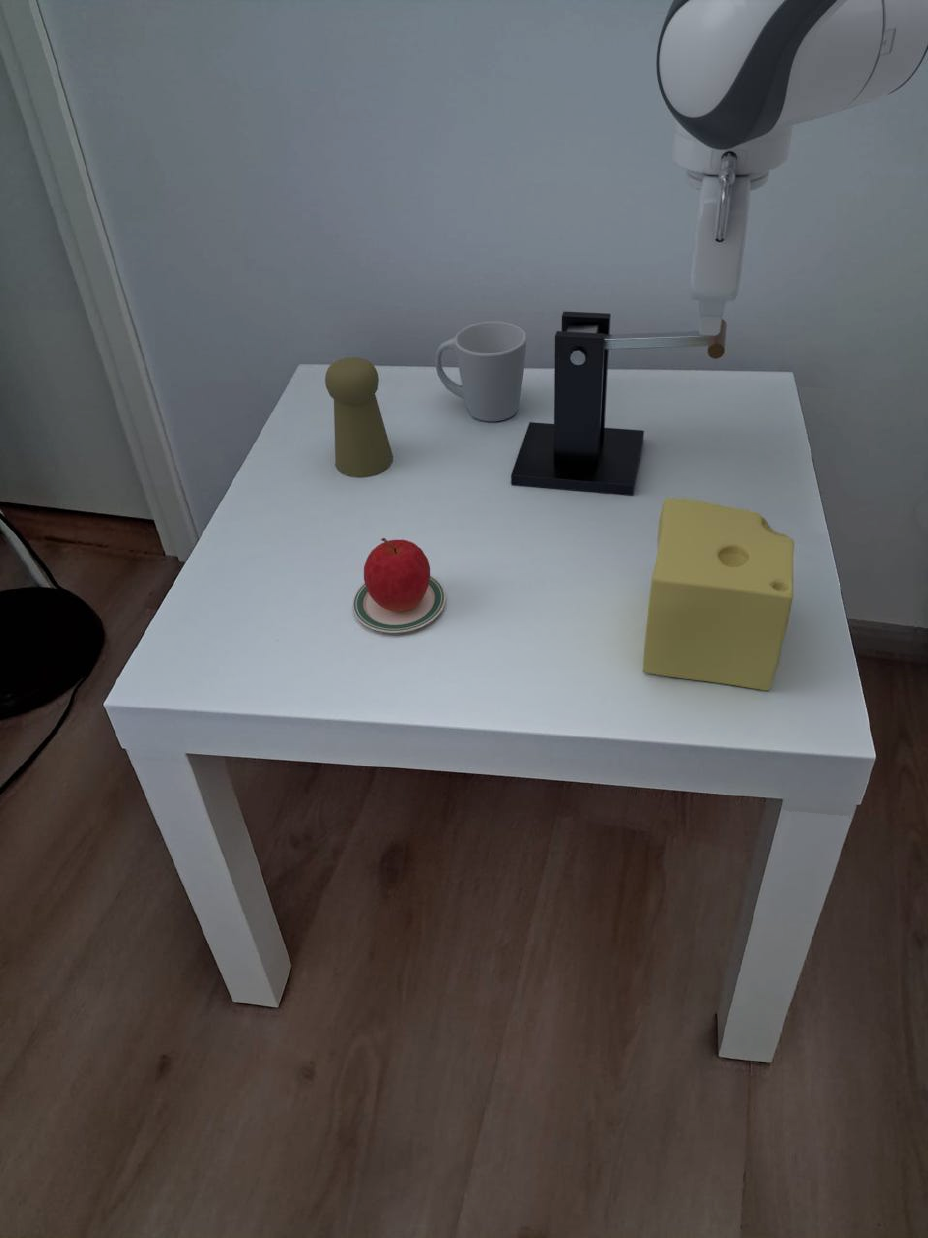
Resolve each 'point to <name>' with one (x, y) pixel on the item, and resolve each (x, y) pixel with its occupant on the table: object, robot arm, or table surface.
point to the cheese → (718, 595)
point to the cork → (357, 418)
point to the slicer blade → (661, 339)
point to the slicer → (580, 422)
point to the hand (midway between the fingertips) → (711, 307)
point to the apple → (398, 589)
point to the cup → (487, 368)
